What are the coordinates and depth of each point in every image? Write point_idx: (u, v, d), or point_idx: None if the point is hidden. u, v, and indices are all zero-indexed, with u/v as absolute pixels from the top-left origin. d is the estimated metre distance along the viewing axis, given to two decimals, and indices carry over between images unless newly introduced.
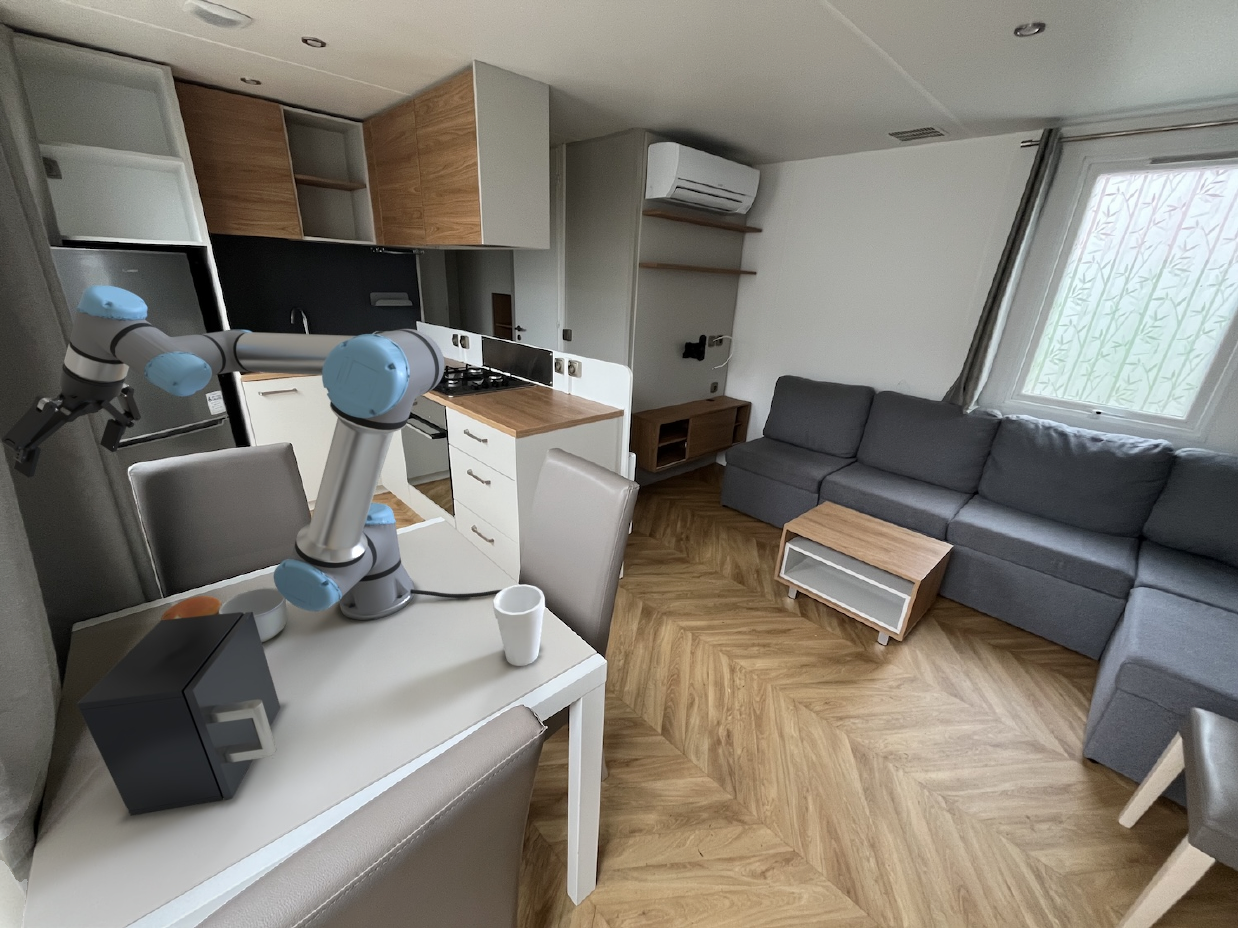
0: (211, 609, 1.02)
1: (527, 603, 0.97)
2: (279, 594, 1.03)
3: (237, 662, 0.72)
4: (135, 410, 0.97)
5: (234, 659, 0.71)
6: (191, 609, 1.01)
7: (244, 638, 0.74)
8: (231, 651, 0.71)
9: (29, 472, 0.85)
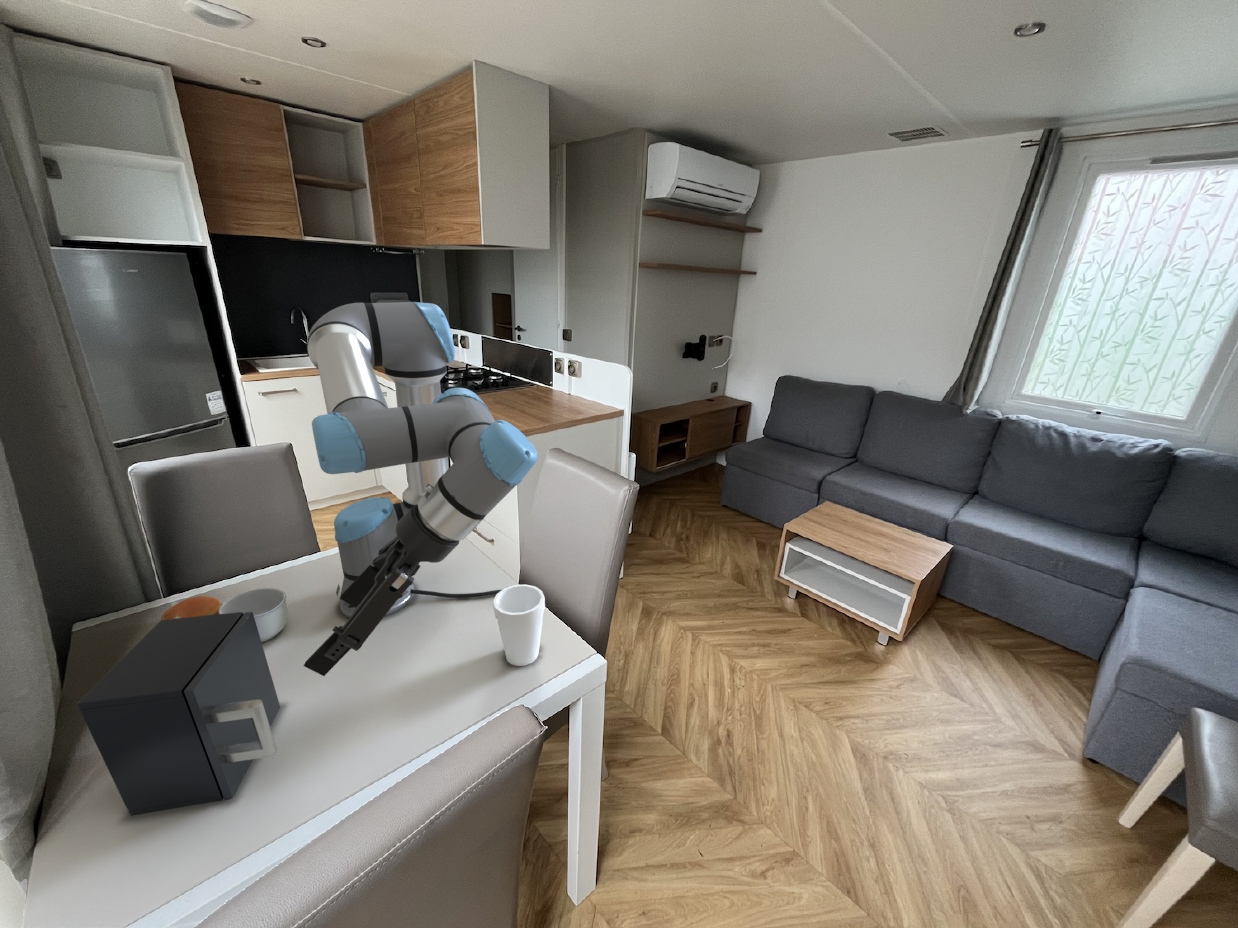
0: (211, 609, 1.02)
1: (527, 603, 0.97)
2: (279, 594, 1.03)
3: (237, 662, 0.72)
4: None
5: (234, 659, 0.71)
6: (191, 609, 1.01)
7: (244, 638, 0.74)
8: (231, 651, 0.71)
9: (328, 669, 0.59)
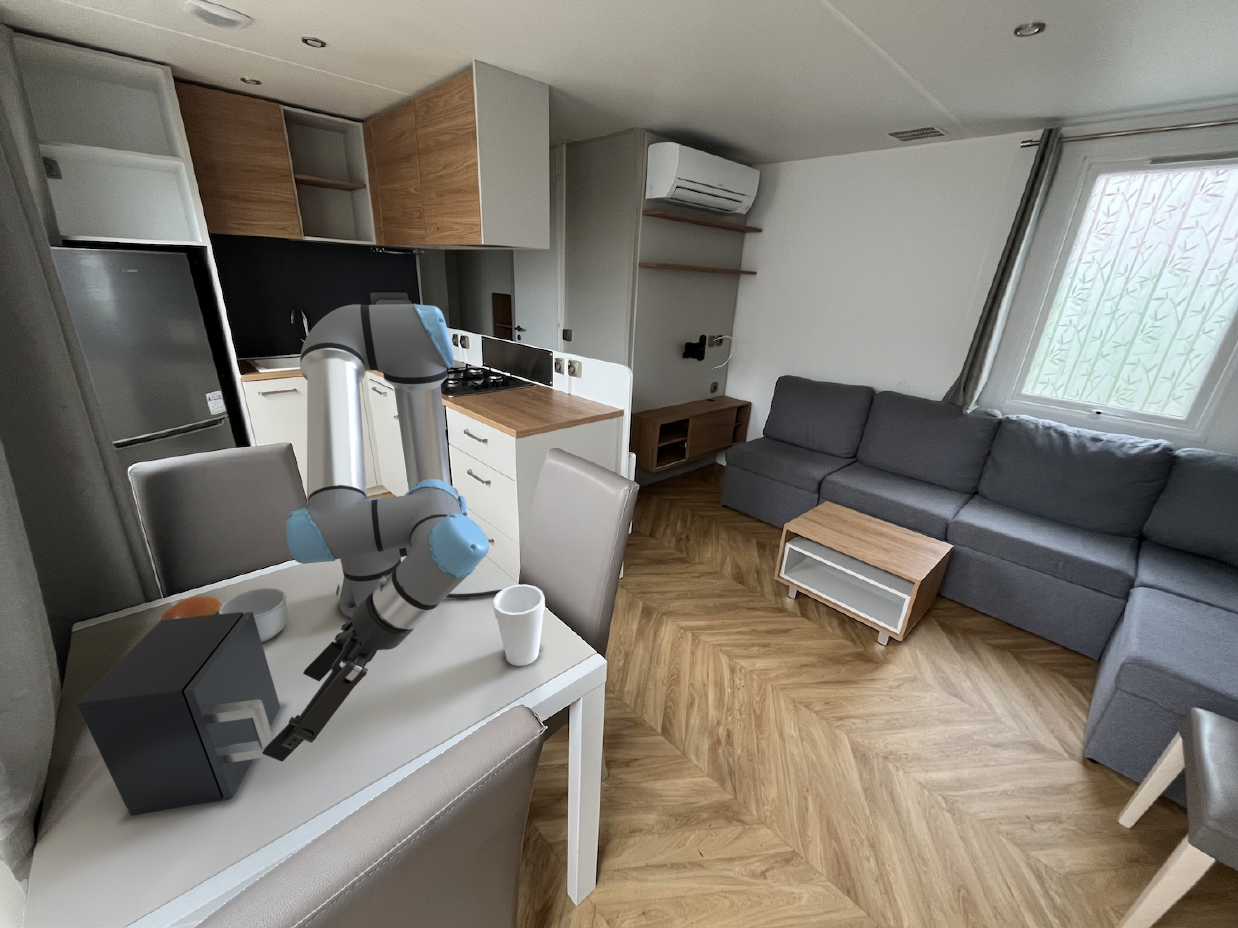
0: (211, 609, 1.02)
1: (527, 603, 0.97)
2: (279, 594, 1.03)
3: (237, 662, 0.72)
4: None
5: (234, 659, 0.71)
6: (191, 609, 1.01)
7: (244, 638, 0.74)
8: (231, 651, 0.71)
9: (286, 755, 0.62)
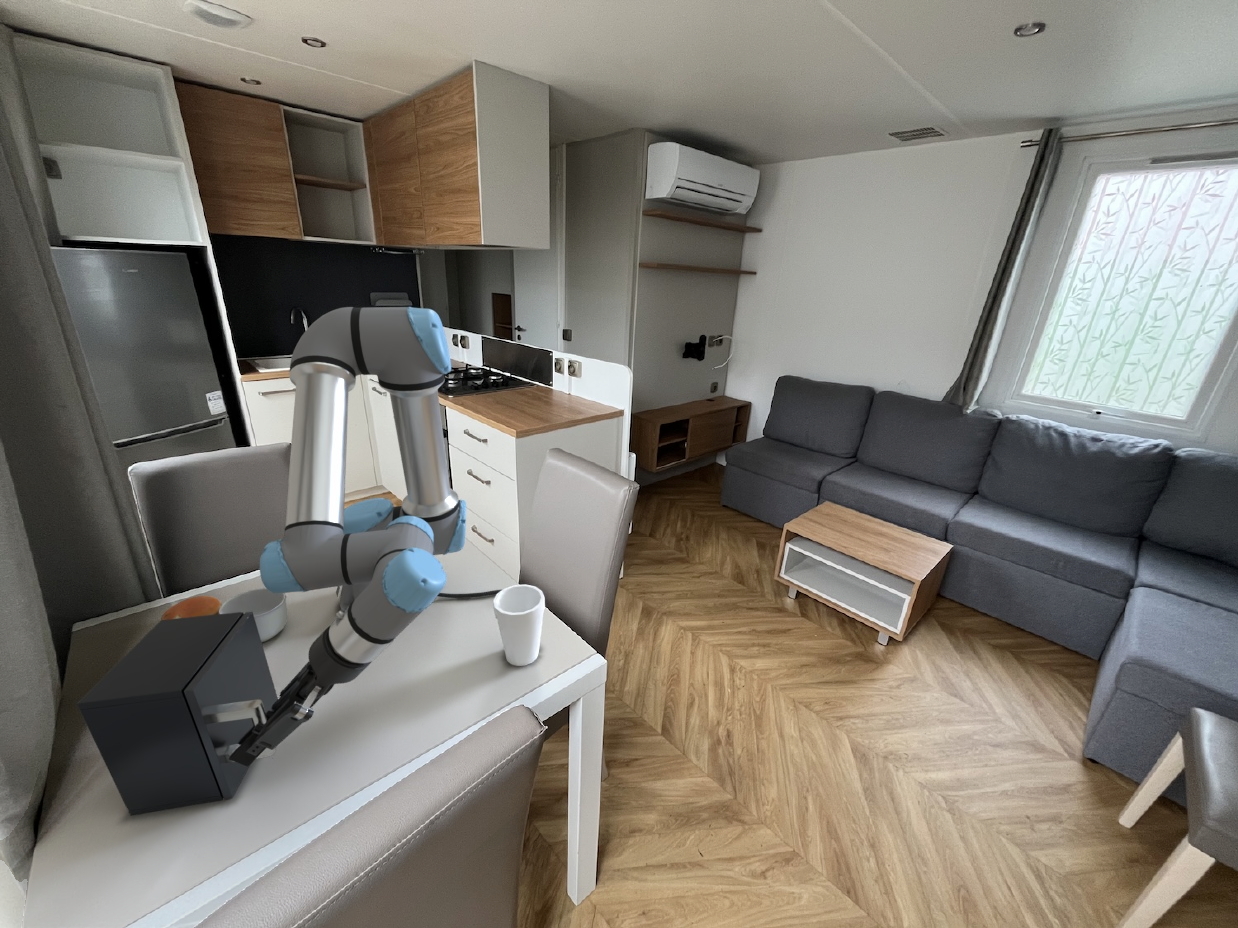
0: (211, 609, 1.02)
1: (527, 603, 0.97)
2: (279, 594, 1.03)
3: (237, 662, 0.72)
4: None
5: (234, 659, 0.71)
6: (191, 609, 1.01)
7: (244, 638, 0.74)
8: (231, 651, 0.71)
9: (251, 761, 0.68)
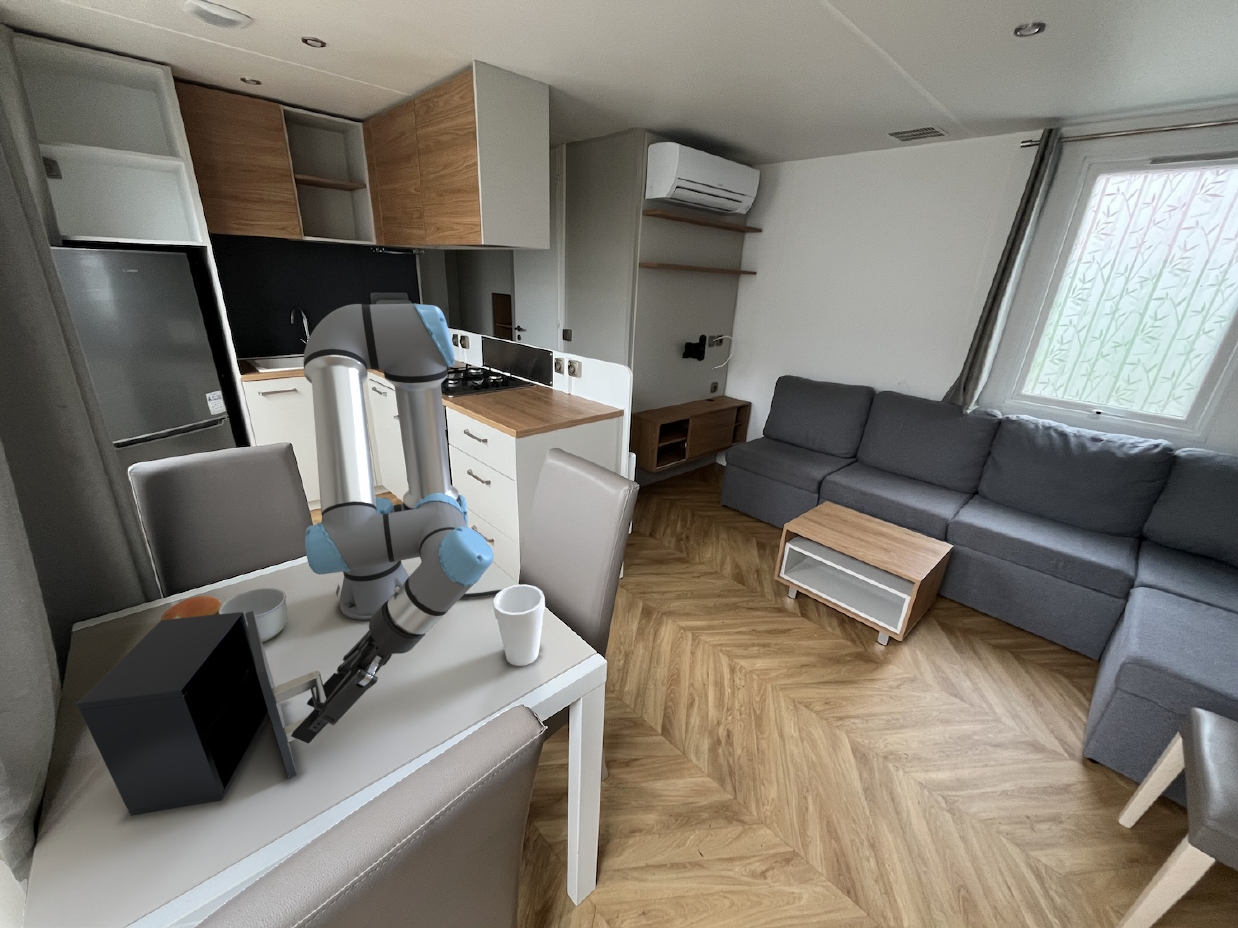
0: (211, 609, 1.02)
1: (527, 603, 0.97)
2: (279, 594, 1.03)
3: (264, 655, 0.74)
4: None
5: (263, 651, 0.73)
6: (191, 609, 1.01)
7: None
8: (260, 643, 0.72)
9: (312, 738, 0.72)
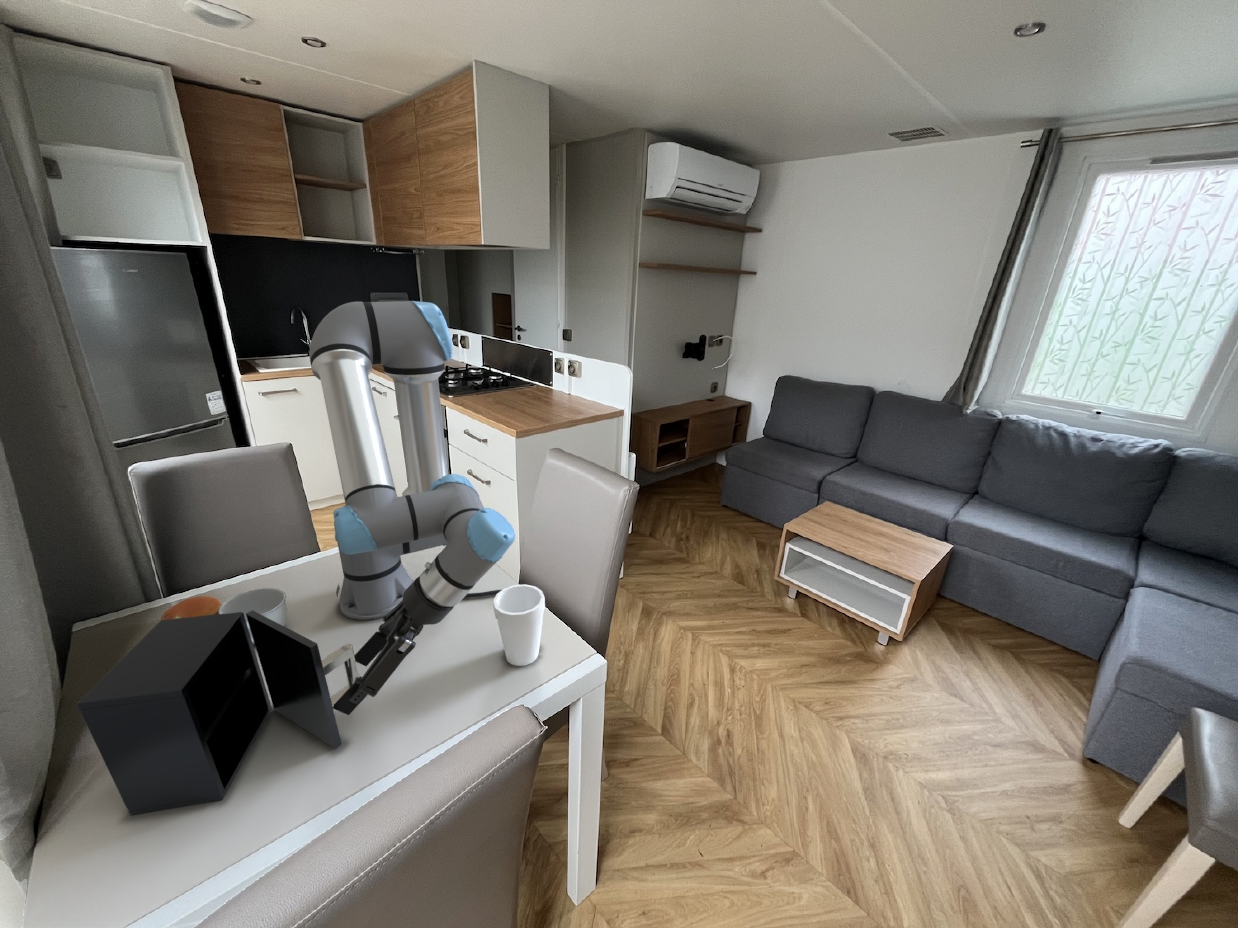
0: (211, 609, 1.02)
1: (527, 603, 0.97)
2: (279, 594, 1.03)
3: None
4: None
5: None
6: (191, 609, 1.01)
7: None
8: None
9: (352, 710, 0.76)
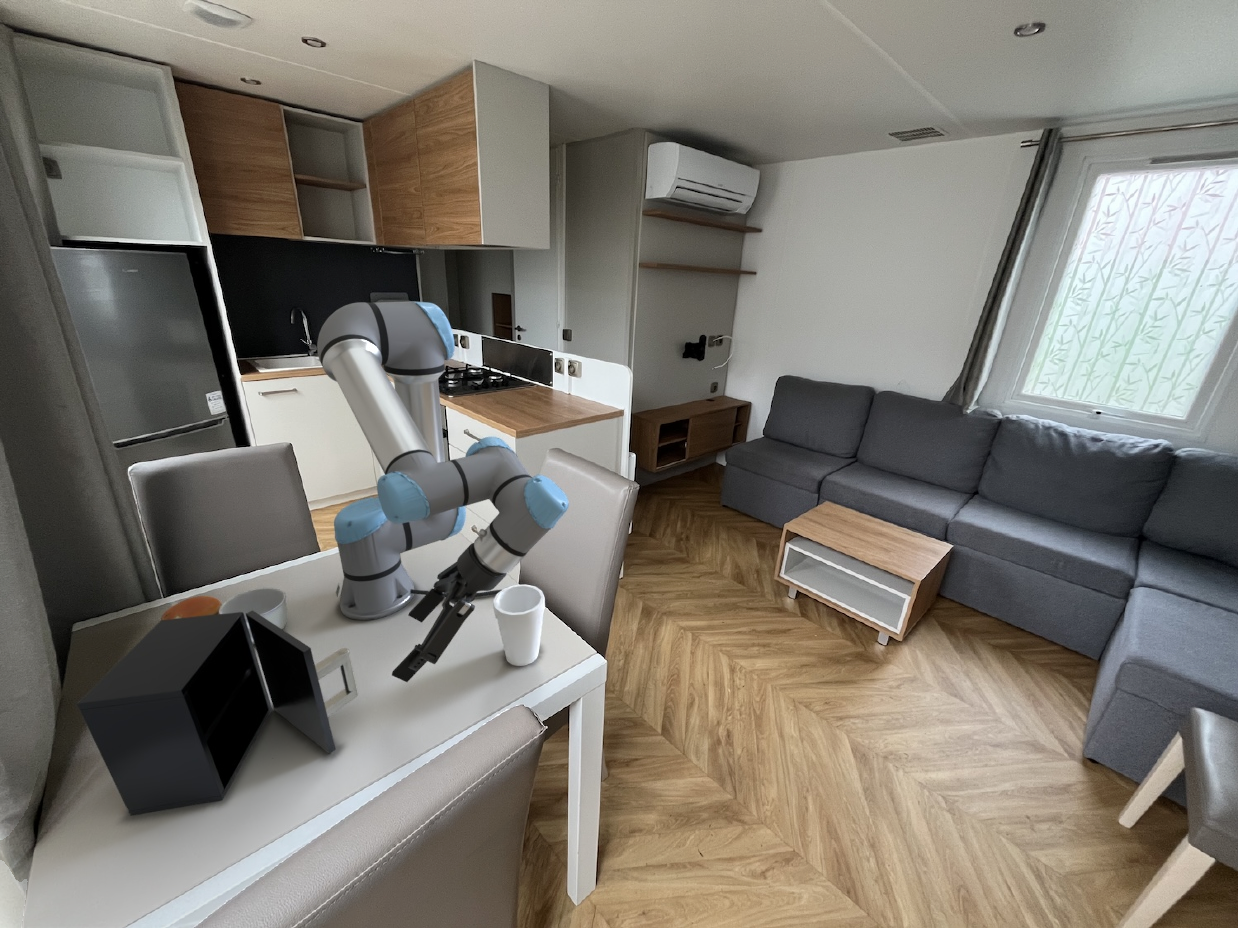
0: (211, 609, 1.02)
1: (527, 603, 0.97)
2: (279, 594, 1.03)
3: None
4: None
5: None
6: (191, 609, 1.01)
7: None
8: None
9: (410, 677, 0.75)
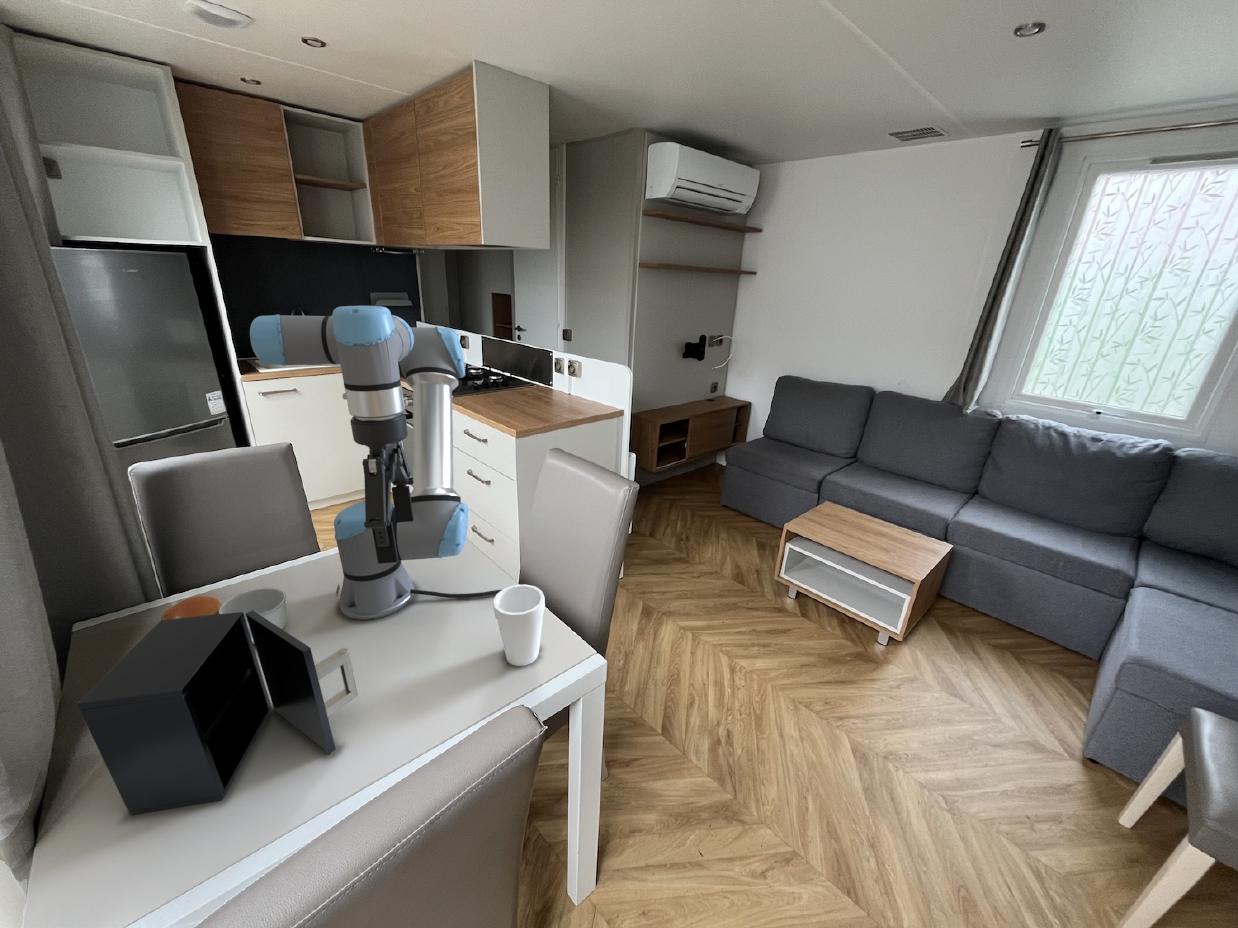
0: (211, 609, 1.02)
1: (527, 603, 0.97)
2: (279, 594, 1.03)
3: None
4: (406, 463, 0.85)
5: None
6: (191, 609, 1.01)
7: None
8: None
9: (395, 555, 0.74)
